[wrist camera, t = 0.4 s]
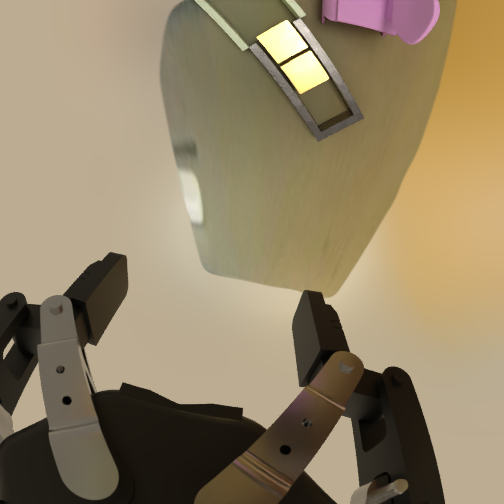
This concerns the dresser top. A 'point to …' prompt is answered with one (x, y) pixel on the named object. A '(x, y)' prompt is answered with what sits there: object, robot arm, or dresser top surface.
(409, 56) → the dresser top surface
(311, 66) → the tan wooden cube
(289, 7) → the tray
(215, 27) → the dresser top surface
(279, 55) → the yellow cube
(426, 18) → the toy chair
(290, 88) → the slot rail
